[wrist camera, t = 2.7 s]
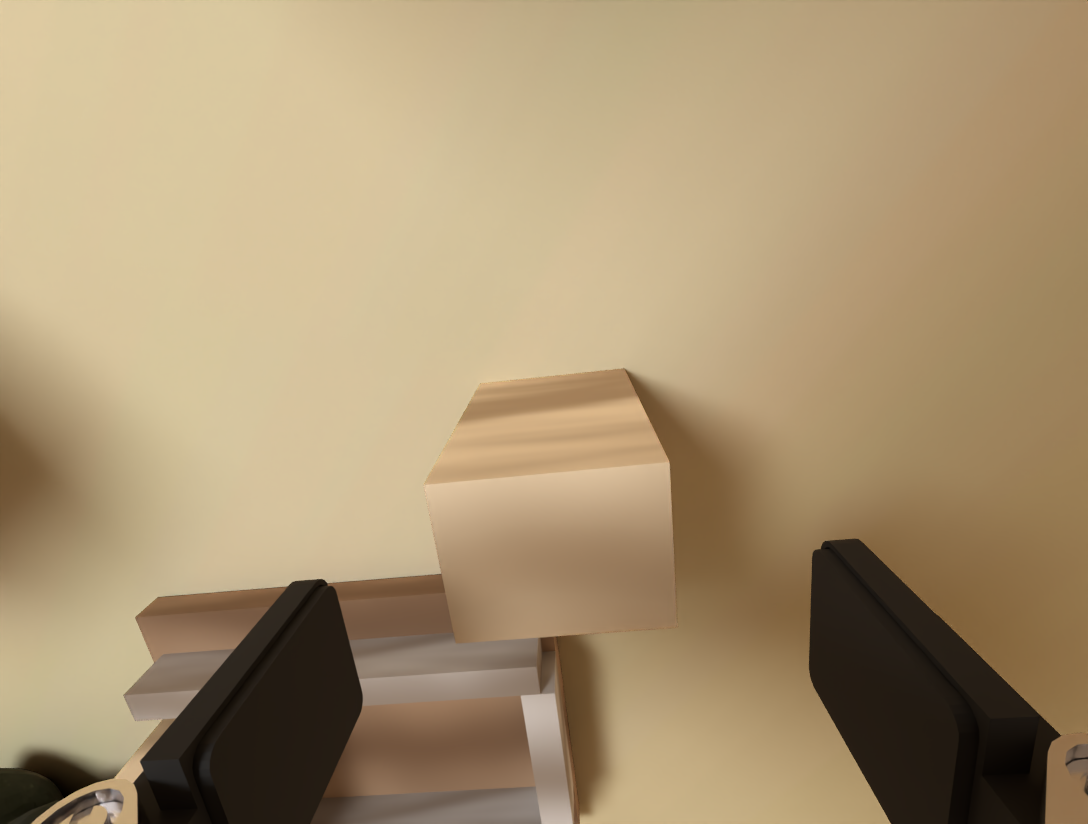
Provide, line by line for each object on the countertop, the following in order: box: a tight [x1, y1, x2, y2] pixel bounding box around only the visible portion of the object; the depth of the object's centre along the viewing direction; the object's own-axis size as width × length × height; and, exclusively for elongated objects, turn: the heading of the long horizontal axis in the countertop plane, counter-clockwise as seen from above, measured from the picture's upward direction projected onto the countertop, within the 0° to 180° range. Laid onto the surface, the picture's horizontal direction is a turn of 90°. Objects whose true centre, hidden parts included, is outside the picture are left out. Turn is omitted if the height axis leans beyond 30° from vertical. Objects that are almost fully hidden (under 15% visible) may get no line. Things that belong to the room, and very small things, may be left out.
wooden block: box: [423, 369, 677, 644], centre depth 15 cm, size 4×5×8 cm
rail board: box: [114, 574, 580, 824], centre depth 20 cm, size 13×16×6 cm
